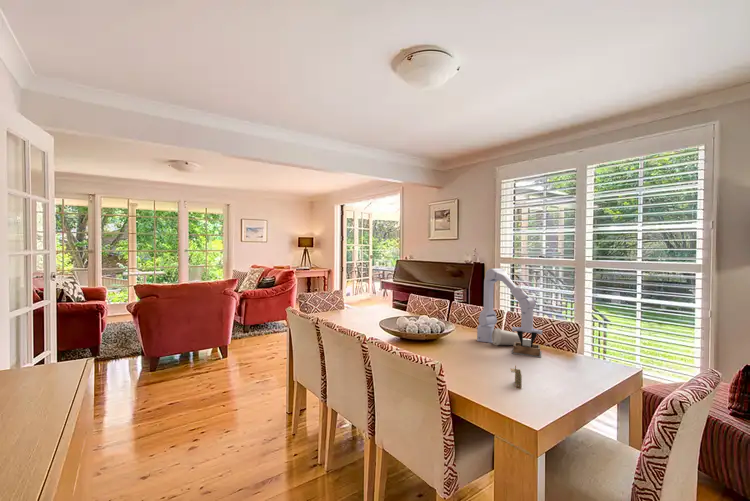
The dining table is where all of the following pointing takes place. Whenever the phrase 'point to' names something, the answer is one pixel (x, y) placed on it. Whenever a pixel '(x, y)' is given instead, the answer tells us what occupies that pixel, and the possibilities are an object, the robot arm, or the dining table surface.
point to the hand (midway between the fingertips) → (526, 346)
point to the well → (526, 349)
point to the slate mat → (527, 354)
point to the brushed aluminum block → (526, 342)
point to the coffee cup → (504, 337)
